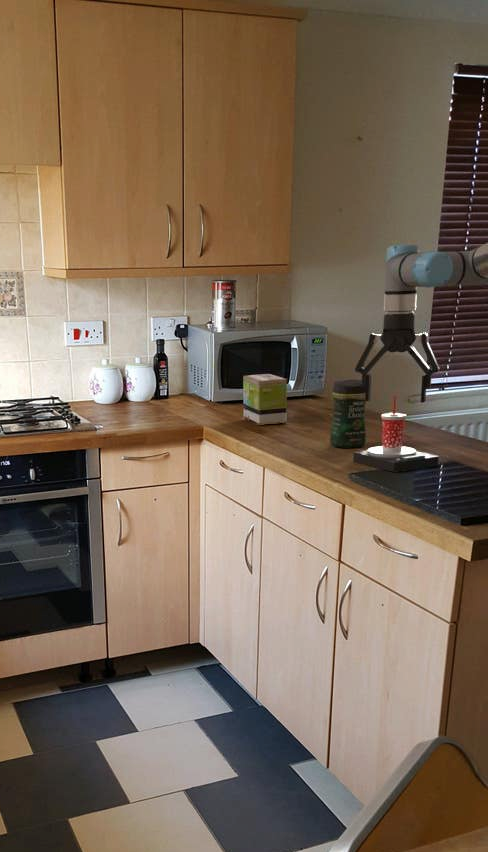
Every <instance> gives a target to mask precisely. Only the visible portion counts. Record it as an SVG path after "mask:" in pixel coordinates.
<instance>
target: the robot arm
mask: <svg viewBox="0 0 488 852" xmlns="http://www.w3.org/2000/svg"><path fill="white" fill-rule="evenodd" d="M384 262H385V263H384V267H385V269H384V276H385V277H384V297H383V312H385V314H383V317H382V318H383V320H382V321H383V322H382V334H376V333H375V332H374V333H371V334H369V337H368V343H367V345H366V347H365V348H364V350H363V353H362V354H361V356H360V359H359V360H358V362H357V364H356V366H355V368H354V371H355V372H356V373H360V374H361V379H362V387H366V396H365V401H366V402H369V401H371V397H372V374H373V373H370V371H372V369H373V368H374V367H375V366H376V365H377V363H378V362H379V361H380V360H381V359H382V358H383V356H384V355H385V354H387V352H389V353H396V352H398V353H405V352H407V353H408V354H409V355H410V356H411V357H412V359H413V360H414V361H415V362H416V364H417V365H418V366H419V368H420V369H421V370H422V371H423V373H424V374H422V376H421V390H420V403H425V402H426V401H427V399H426V398H427V389H430V388H431V386H432V376H433V374H435V373H438V372H440V371H441V369H440V366H439V363H438V360H437V358H436V355H435V353H434V352H433V349H432V347H431V345H430V343H429V334H428V333H427V332H423V333H419V334H416V331H415V330H416V314H415V313H414V312H415V311H416V309H417V294H418V293H417V290H418V288H436V287H453V286H454V287H455V286H456V287H457V286H484V285H488V242H486V243H484V244H482V245H481V246H478V247H476V248H474V249H472V250H460V251H457V250H456V251H439V250H430V251H426V252H420V247H419V245H417V244H399V245H391V246H388V248H387V250H386V257H385V261H384ZM379 340H380V341H381V343H382V344H383V346H382V347H381V348H380V350H379V351H378V352H377V353H376V355H375V356H374V357H373V358H372V359H371V360H370V361H369V363H368V364H367V365H366V366H365V364H366V362H367V360H368V358H369V356H370V355H371V352H372V351H373V349H374V347H375V344H377V343H378V342H379ZM416 340H417V341H418V343H420V344H421V346H422V348H423V351H424V353H425V355H426V357H427V360H428V362H429V364H430V366H429V365H428V364H427V362H426V361H425V360H424V359H423V357H422V356H421V354H419V352H418V350H416V348H415V347H414V345H413V344H414V343H415V341H416ZM364 366H365V367H364ZM430 367H431V368H430Z"/></svg>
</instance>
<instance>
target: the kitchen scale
mask: <svg viewBox="0 0 488 852" xmlns="http://www.w3.org/2000/svg"><path fill="white" fill-rule="evenodd" d="M352 459H353V461H352V462H353V463H357V464H361V465H364V466H367V467H370V468H375V469H377V470H382V471H385V470H389V471H393V472H396V471H403V472H405V471H404V470H410V471H415V470H414V469H416V470H420V469H419V468H423V469H425V468H424V467H429V468H432V467H431V466H436V467H438V466H439V459H440V456H439V455H436V454H431V453H427V452H423V451H417V450H416V449H415V448H412V447H409V446H403V445H402V447H401V451H398V452H387V451H383V445H377V446H372V447H369V448H368V449H367V450H360V451H354V452H353V458H352ZM437 465H438V466H437ZM389 471H388V472H389ZM393 472H392V473H393Z"/></svg>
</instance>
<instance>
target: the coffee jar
mask: <svg viewBox="0 0 488 852" xmlns="http://www.w3.org/2000/svg"><path fill="white" fill-rule="evenodd" d="M331 394H332V398H333V403H334V404H333V415H332V416H333V417H332V424H331V429H330V438H329V440H330V441H329V443H330V445H331V446H333V447H334V448H337V447H338V448H341V449H342V448H344V449H345V448H346V449H350V448H359V447H360V448H361V447H364V446H365V445H366V443H367V430H366V403H367V401H365V396H366V387H362V378H346V379H338V380H335V381H334V383H333V387H332V393H331Z"/></svg>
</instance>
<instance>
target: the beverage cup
mask: <svg viewBox="0 0 488 852" xmlns="http://www.w3.org/2000/svg"><path fill="white" fill-rule="evenodd" d="M396 401H397V394H393V406H392V412H387V413H385V412H384V413H382V414H381V415H380V417H381V419H382V421H381V422H382V423H381V427H382V428H381V430H382V431H381V432H382V437H381V438H382V439H381V440H382V446H383V451H387V452H398V451H401V447H402V446H403V440H404V439H403V438H404V432H405V431H404V430H405V424H406V423H405V422H406V419H407V414H406V413H400V412H396Z"/></svg>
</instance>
